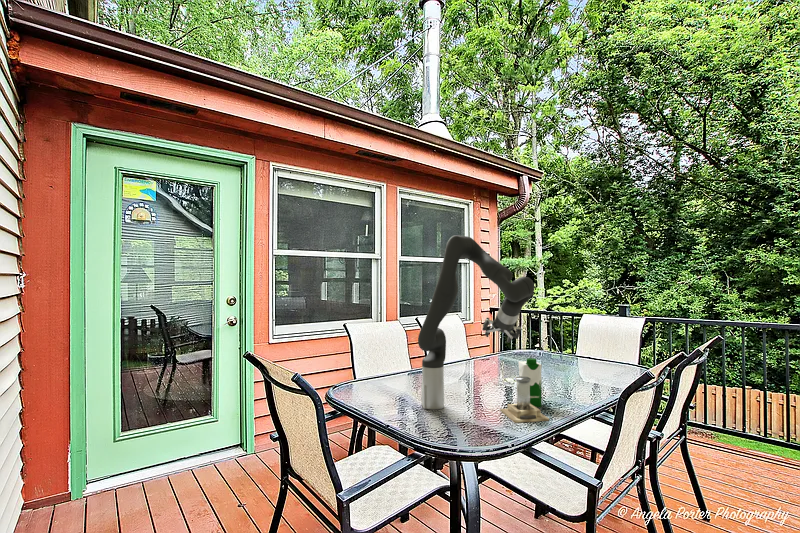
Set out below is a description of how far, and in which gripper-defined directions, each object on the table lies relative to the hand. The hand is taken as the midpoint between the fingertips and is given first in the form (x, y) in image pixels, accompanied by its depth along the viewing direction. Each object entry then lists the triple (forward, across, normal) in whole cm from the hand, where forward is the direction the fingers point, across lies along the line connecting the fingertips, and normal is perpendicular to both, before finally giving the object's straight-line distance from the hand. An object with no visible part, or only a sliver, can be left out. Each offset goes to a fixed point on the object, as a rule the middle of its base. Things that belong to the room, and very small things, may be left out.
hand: (497, 338), depth 168 cm
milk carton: (+26, -22, +12) cm, 36 cm away
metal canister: (+15, -16, +22) cm, 31 cm away
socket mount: (+15, -17, +22) cm, 32 cm away
